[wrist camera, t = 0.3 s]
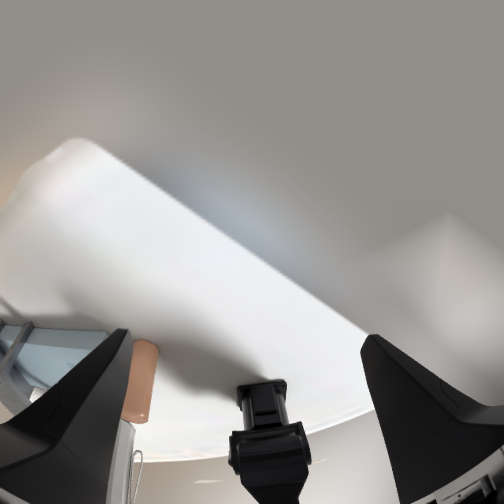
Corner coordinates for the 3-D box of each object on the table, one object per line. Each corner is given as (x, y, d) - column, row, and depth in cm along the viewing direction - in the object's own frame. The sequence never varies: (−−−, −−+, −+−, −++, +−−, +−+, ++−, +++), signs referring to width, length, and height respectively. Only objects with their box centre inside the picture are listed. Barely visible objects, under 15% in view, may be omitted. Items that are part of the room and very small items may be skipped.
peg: (162, 358, 29) (152, 424, 21) (137, 358, 29) (123, 422, 21) (154, 339, 27) (141, 409, 19) (128, 340, 27) (110, 406, 19)
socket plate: (134, 383, 31) (130, 401, 28) (36, 371, 30) (30, 385, 27) (106, 331, 26) (98, 350, 24) (5, 325, 25) (-4, 338, 22)
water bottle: (104, 427, 38) (89, 536, 16) (93, 409, 35) (71, 533, 12) (149, 436, 39) (143, 551, 17) (143, 419, 36) (132, 552, 14)
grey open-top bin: (69, 380, 31) (52, 430, 22) (35, 374, 30) (17, 418, 22) (31, 321, 25) (-1, 375, 17) (-2, 319, 25) (-31, 364, 16)
